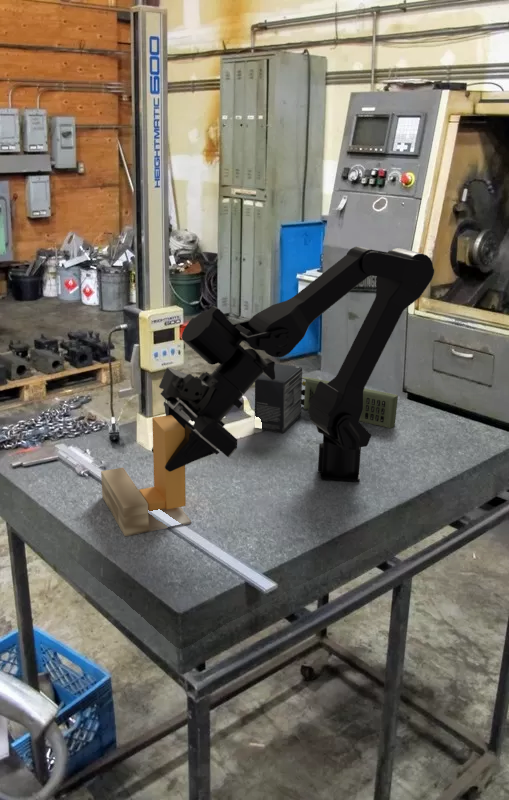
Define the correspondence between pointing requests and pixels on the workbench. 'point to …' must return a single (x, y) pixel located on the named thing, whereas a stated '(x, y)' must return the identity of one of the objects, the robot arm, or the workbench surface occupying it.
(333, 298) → the robot arm
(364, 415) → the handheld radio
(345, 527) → the workbench surface
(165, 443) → the orange l-shaped bookend
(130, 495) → the wooden block on plate
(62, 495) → the workbench surface
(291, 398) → the small box
